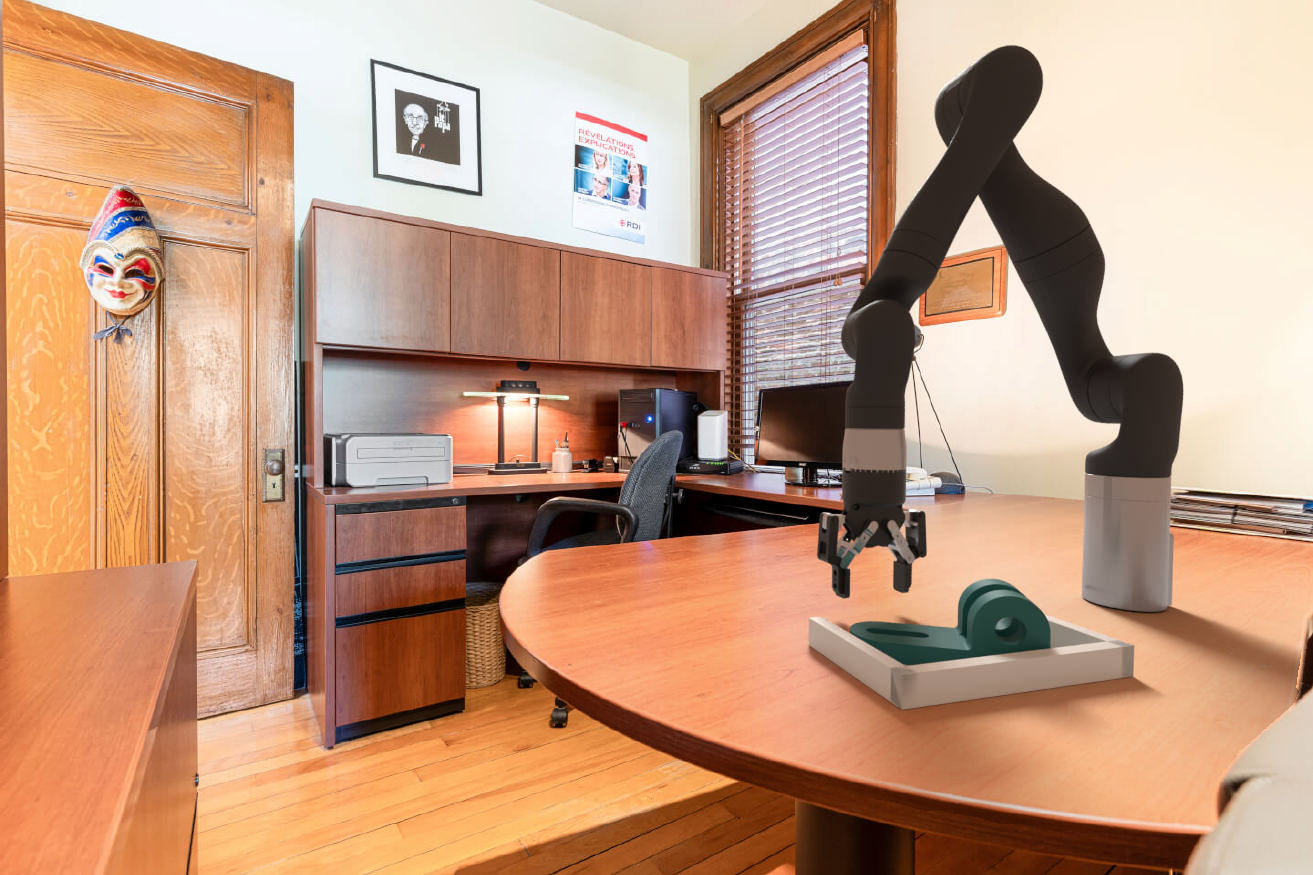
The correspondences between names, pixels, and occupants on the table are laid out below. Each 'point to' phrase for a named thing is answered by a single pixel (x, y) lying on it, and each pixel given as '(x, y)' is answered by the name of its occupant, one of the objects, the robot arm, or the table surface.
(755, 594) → the table surface
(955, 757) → the table surface
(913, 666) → the white open frame
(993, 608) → the bracket
